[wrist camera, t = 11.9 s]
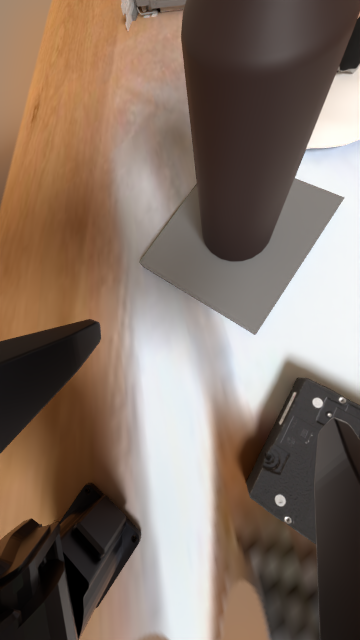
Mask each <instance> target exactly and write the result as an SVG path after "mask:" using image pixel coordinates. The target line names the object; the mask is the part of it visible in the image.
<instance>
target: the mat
mask: <svg viewBox="0 0 360 640" xmlns="http://www.w3.org/2000/svg"><path fill="white" fill-rule="evenodd" d="M343 199H344V197H342V196H339V195H336V194H334V193H331V192H329V191H326V190H324V189H321V188H318V187H316V186H313V185H311V184H308V183H306V182H303V181H300V180H298V179H295V178H294V181H293V183H292V186H291V188H290V191H289V193H288V196H287V198H286V201H285V203H284V206H283V208H282V211H281V213H280V216H279V218H278V221H277V223H276V226H275V228H274V231H273V233H272V236H271V238H270V241H269V243H268V244H267V246H266V247H265V248H264V249H263V251H262V252H261V253H259V254H258V255H256V256H255V257H253V258H251V259H248V260H244V261H236V262H230V261H227V260H223V259H220V258H218V257H217V256H215V255H214V254H212V253H211V251H210V250H209V249H208V248H207V246H206V245H205V242H204V239H203V235H202V225H201V216H200V207H199V198H198V188H197V184H196V185H195V187H194V188H193V189H192V191H191V192H190V194H189V195H188V196H187V198H186V199H185V200H184V202H183V203H182V204H181V206H180V207H179V209H178V210H177V211H176V213H175V214H174V215H173V217H172V218H171V219H170V221H169V222H168V224H167V225H166V226H165V228H164V229H163V230H162V232H161V233H160V234H159V236H158V237H157V239H156V240H155V241H154V243H153V244H152V245H151V247H150V248H149V249H148V251H147V252H146V254H145V255H144V256H143V258H142V259H141V260H140V263H141V265H142V266H143V267H145V268H146V269H148V270H150V271H151V272H153V273H155V274H156V275H158V276H159V277H161V278H163V279H164V280H166V281H168V282H169V283H171V284H173V285H174V286H176V287H177V288H179V289H181V290H182V291H184V292H186V293H187V294H189V295H191V296H192V297H194V298H195V299H197V300H199V301H200V302H202V303H204V304H205V305H207V306H209V307H210V308H212V309H213V310H215V311H217V312H218V313H220V314H222V315H223V316H225V317H227V318H228V319H230V320H231V321H233V322H235V323H236V324H238V325H240V326H241V327H243V328H245V329H246V330H248V331H249V332H251V333H253V334H254V335H255V334H256V333H257V332H258V330H259V329H260V327H261V325H262V324H263V322H264V321H265V319H266V318H267V316H268V315H269V313H270V312H271V310H272V309H273V307H274V305H275V304H276V302H277V301H278V299H279V298H280V296H281V295H282V293H283V292H284V290H285V289H286V287H287V285H288V284H289V282H290V281H291V279H292V278H293V276H294V275H295V273H296V272H297V270H298V269H299V267H300V265H301V264H302V262H303V261H304V259H305V258H306V256H307V255H308V253H309V252H310V250H311V248H312V247H313V245H314V244H315V242H316V241H317V239H318V238H319V236H320V235H321V233H322V232H323V230H324V228H325V227H326V225H327V224H328V222H329V221H330V219H331V218H332V216H333V215H334V213H335V212H336V210H337V208H338V207H339V205H340V204H341V202H342V201H343Z"/></svg>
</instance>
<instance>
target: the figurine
mask: <svg viewBox="0 0 360 640" xmlns="http://www.w3.org/2000/svg"><path fill="white" fill-rule="evenodd" d="M357 140H360V17H359V18H358V19H357V21H356V24H355V27H354V30H353V32H352V35H351V37H350V40H349V42H348V45H347V47H346V50H345V52H344V55H343V57H342V60H341V62H340V65H339V67H338V70H337V72H336V75H335V77H334V80H333V82H332V85H331V87H330V90H329V92H328V95H327V98H326V100H325V103H324V105H323V108H322V110H321V113H320V115H319V118H318V120H317V123H316V125H315V128H314V130H313V133H312V135H311V138H310V140H309V143H308V145H307V148H306V149H309V148H330V147H337V146H344V145H347V144H350V143H352V142H355V141H357Z"/></svg>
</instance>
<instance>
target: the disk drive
mask: <svg viewBox="0 0 360 640" xmlns="http://www.w3.org/2000/svg"><path fill="white" fill-rule="evenodd" d="M331 418H337V419H340V420H342V421H345V422H347V423H348V424H349V425H350V426H351V427H352V429H353V430H354V432H355V433H356V434H357V436H358V437H359V439H360V405H358V404H356V403H354V402H352V401H350V400H349V399H346V398H344V397H343V396H341V395H340V394H338V393H336V392H335V391H333V390H331V389H329V388H327V387H325V386H322V385H320V384H318V383H316V382H314V381H312V380H310V379H308V378H297V380H296V381H295V384H294V386H293V388H292V390H291V392H290V394H289V396H288V398H287V400H286V402H285V404H284V406H283V408H282V410H281V412H280V414H279V416H278V418H277V420H276V422H275V424H274V426H273V428H272V430H271V432H270V434H269V436H268V438H267V440H266V442H265V445H264V446H263V449H262V450H261V453H260V454H259V457H258V459H257V461H256V463H255V465H254V468H253V470H252V472H251V473H250V475H249V477H248V480H247V481H246V484H247V488H248V492H249V496H250V498H251V499H253V500H254V501H256V502H257V503H258V504H259V505H261V506H262V507H263V508H265V510H267V511H268V512H270V513H271V514H272V515H274V516H275V517H276V518H278V519H280V520H281V521H283V522H286V523H287V524H288V525H289V526H291V527H292V528H293V529H295V530H296V531H297V532H299V533H300V534H301V535H303V536H305V537H306V538H308V539H309V540H311V541H312V542H313V543H315V544H316V521H315V495H314V480H315V466H316V453H317V441H318V434H319V432H320V430H321V429H322V428H323V427H324V426H325V424H326V423H327V422H328V421H329V420H330V419H331Z"/></svg>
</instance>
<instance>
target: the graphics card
mask: <svg viewBox="0 0 360 640" xmlns="http://www.w3.org/2000/svg"><path fill="white" fill-rule="evenodd" d="M124 3H125V4H124ZM185 3H186V0H124V1H123V0H122V4H121V8H122V12H123V16H124V14H126V19H127V20H126V23H125V24H126V28H127V31H129V28H130V25H131V22H132V21H134V20H136V18H137V15H138V12H139V6H141V8H142V11H143V12H145V11H147V9H148V10H149V11H152V12H146V13H143V14H142V13H140V12H139V13H140V15H144V18H146V17H150V15H145V14H151V13H152V17H155V16H157V14H158V11H156V9H154V8H160V12H166V11H174V10H182V9H184V6H185ZM126 6H127V7H126ZM147 6H148V7H147Z"/></svg>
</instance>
